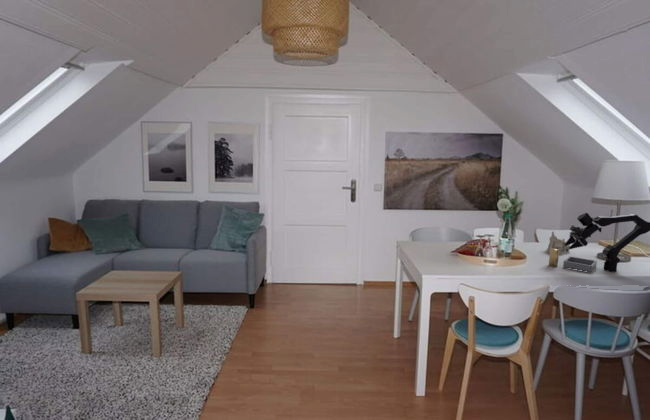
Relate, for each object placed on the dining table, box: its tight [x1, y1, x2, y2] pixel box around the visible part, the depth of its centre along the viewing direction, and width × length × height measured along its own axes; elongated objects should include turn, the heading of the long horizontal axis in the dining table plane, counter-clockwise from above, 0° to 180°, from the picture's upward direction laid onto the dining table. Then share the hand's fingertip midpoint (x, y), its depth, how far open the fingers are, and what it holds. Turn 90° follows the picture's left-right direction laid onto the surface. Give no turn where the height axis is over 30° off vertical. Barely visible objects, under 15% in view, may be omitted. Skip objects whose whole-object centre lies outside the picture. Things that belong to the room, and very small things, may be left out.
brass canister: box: [548, 248, 560, 268], centre depth 299 cm, size 5×5×11 cm
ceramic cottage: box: [546, 231, 571, 256], centre depth 334 cm, size 16×16×15 cm
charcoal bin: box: [562, 255, 598, 273], centre depth 297 cm, size 16×16×4 cm
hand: (567, 246), depth 297 cm, fingers open, 9 cm apart
